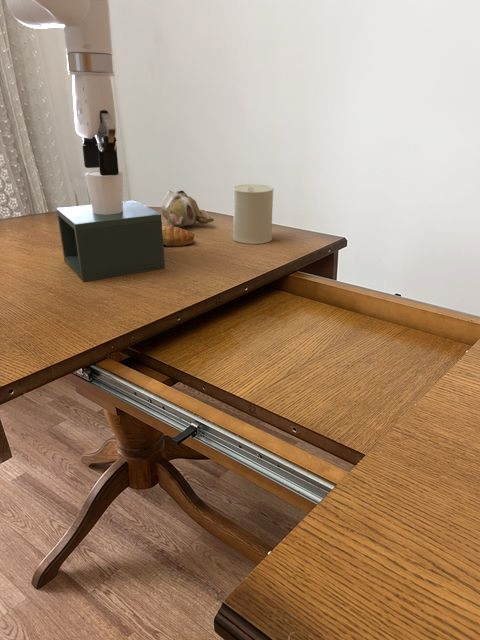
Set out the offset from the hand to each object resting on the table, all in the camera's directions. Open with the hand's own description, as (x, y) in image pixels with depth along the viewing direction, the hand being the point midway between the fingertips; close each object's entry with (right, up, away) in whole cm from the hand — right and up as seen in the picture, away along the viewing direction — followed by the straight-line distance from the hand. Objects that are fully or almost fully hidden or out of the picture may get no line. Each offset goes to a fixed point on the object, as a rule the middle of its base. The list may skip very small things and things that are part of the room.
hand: (101, 171), depth 100 cm
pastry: (+9, -9, +23) cm, 26 cm away
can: (+27, -7, +27) cm, 39 cm away
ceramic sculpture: (+10, -2, +37) cm, 38 cm away
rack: (0, -16, +9) cm, 18 cm away
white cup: (0, -7, +4) cm, 8 cm away
